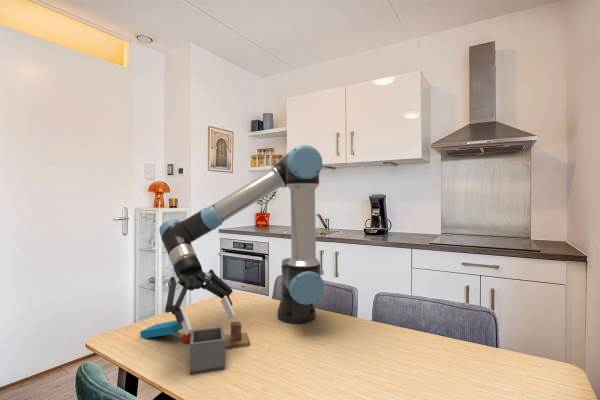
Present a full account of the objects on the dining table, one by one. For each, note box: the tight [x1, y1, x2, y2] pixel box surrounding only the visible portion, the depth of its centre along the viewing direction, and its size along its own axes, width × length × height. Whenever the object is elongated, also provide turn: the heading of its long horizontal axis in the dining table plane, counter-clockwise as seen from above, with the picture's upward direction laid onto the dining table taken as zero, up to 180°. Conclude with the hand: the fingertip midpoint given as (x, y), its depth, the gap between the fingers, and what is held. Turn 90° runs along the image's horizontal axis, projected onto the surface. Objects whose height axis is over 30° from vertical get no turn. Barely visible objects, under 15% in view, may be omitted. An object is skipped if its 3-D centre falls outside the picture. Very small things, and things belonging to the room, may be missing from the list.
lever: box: [139, 319, 191, 344], centre depth 103 cm, size 7×7×18 cm
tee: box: [224, 320, 251, 350], centre depth 100 cm, size 8×8×6 cm
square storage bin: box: [189, 326, 226, 376], centre depth 87 cm, size 9×9×8 cm
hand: (211, 324), depth 85 cm, fingers open, 13 cm apart
